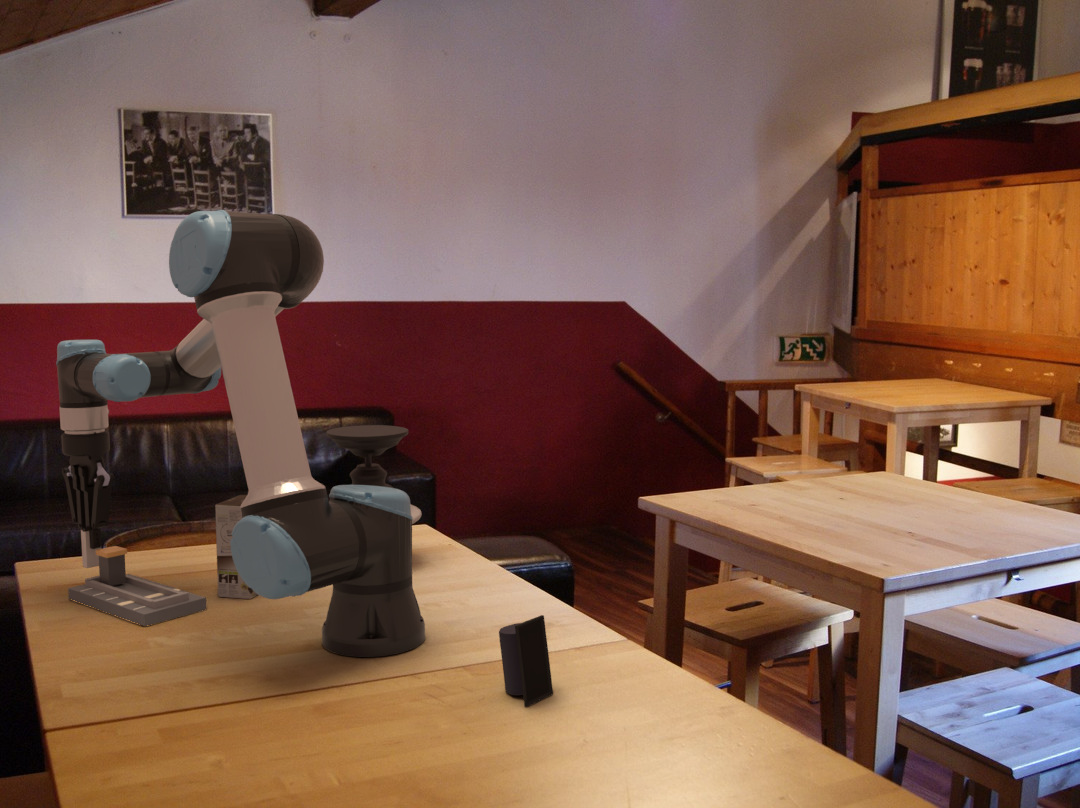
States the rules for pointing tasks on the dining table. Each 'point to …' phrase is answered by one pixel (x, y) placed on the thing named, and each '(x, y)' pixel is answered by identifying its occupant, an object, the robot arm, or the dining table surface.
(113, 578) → the fader tab
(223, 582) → the coffee box
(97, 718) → the dining table surface
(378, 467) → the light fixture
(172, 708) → the dining table surface
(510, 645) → the speaker
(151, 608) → the console board
